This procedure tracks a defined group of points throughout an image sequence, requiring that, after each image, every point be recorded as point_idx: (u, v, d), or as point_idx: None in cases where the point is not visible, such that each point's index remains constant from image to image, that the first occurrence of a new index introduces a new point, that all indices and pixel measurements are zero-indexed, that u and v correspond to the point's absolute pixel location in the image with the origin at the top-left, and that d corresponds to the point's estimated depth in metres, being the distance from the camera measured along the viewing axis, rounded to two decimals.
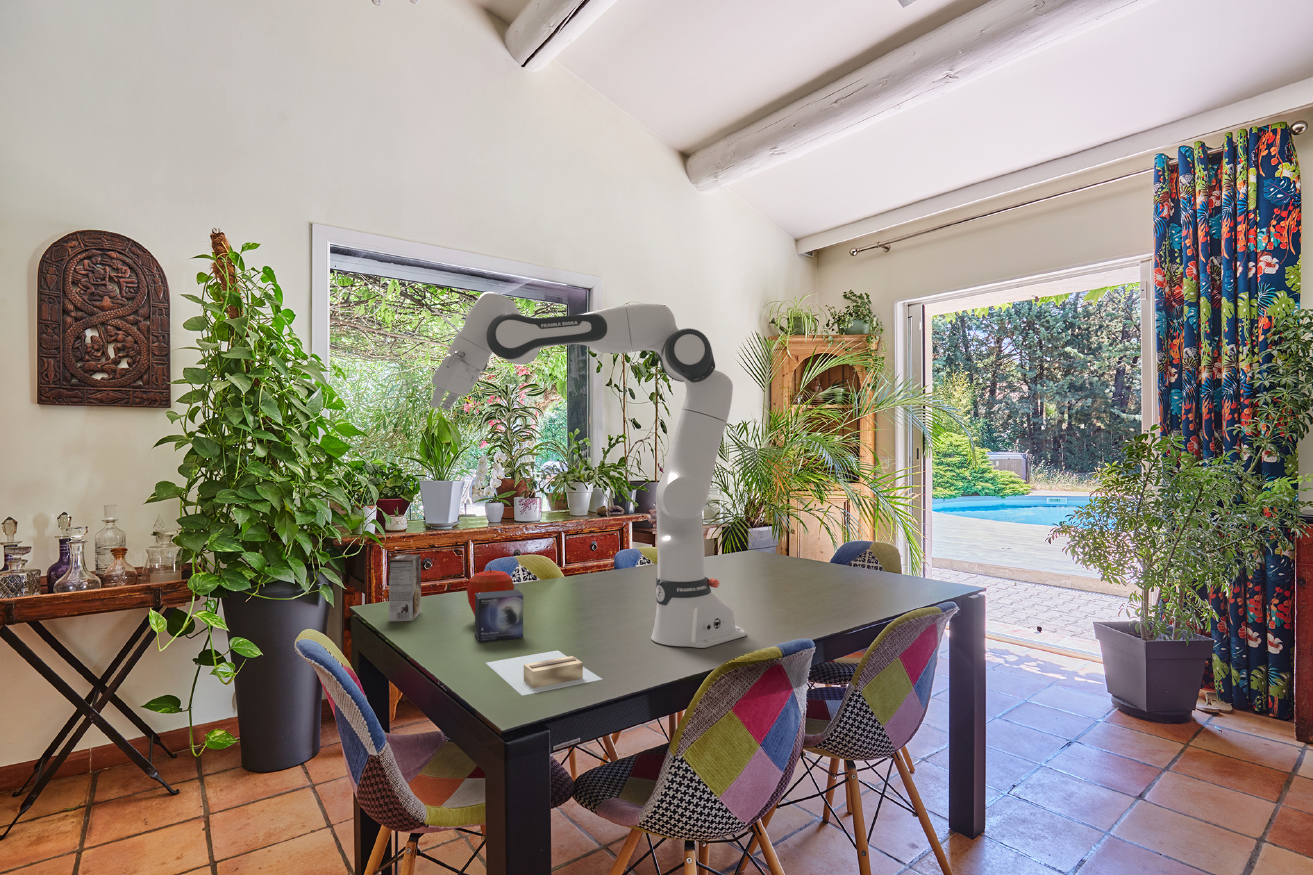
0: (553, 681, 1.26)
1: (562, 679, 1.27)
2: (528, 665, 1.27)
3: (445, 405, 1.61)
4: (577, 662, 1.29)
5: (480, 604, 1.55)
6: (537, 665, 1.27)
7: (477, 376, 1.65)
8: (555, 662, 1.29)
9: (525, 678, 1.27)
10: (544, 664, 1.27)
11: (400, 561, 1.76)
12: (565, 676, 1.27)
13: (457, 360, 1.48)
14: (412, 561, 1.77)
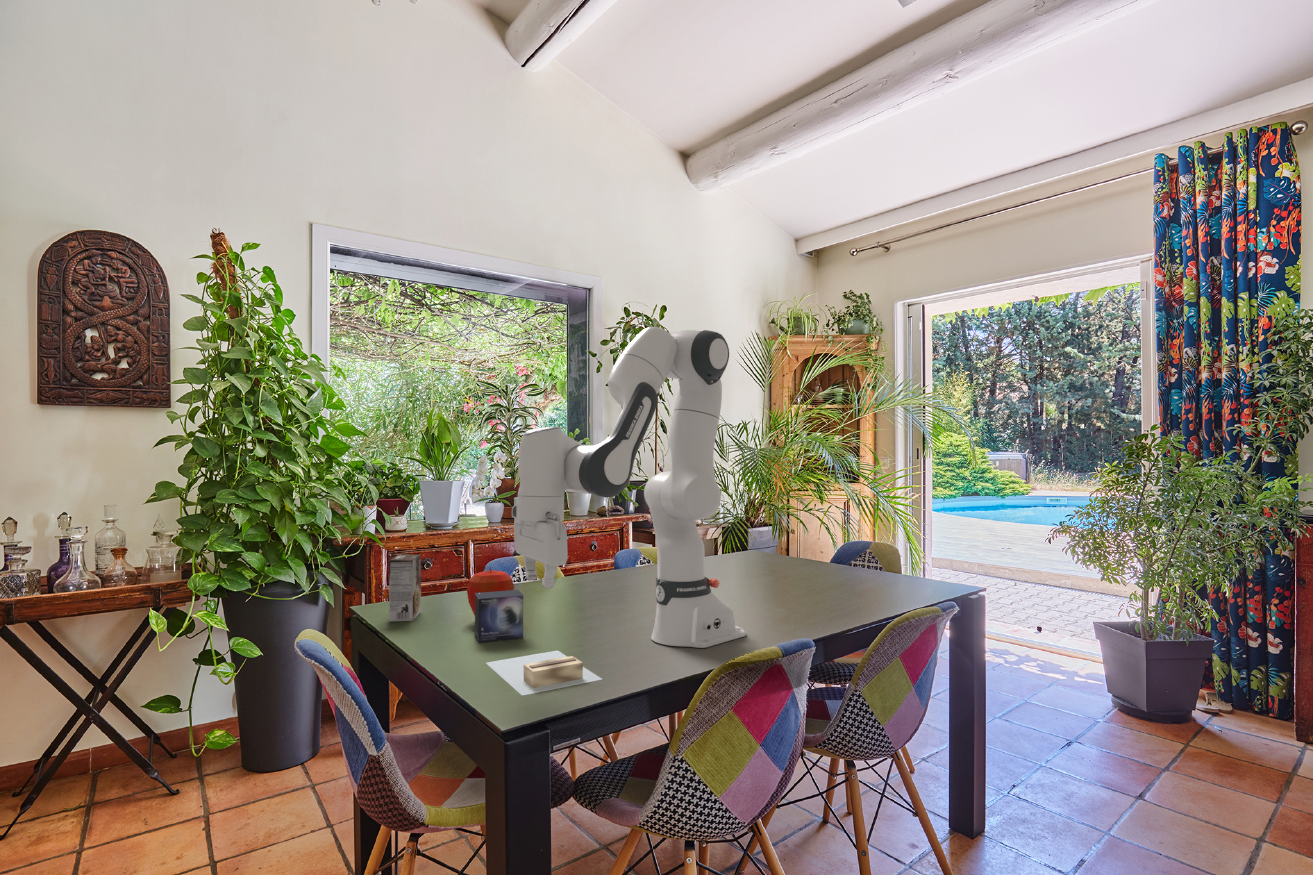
0: (553, 681, 1.26)
1: (562, 679, 1.27)
2: (528, 665, 1.27)
3: (531, 575, 1.32)
4: (577, 662, 1.29)
5: (480, 604, 1.55)
6: (537, 665, 1.27)
7: None
8: (555, 662, 1.29)
9: (525, 678, 1.27)
10: (544, 664, 1.27)
11: (400, 561, 1.76)
12: (565, 676, 1.27)
13: None
14: (412, 561, 1.77)
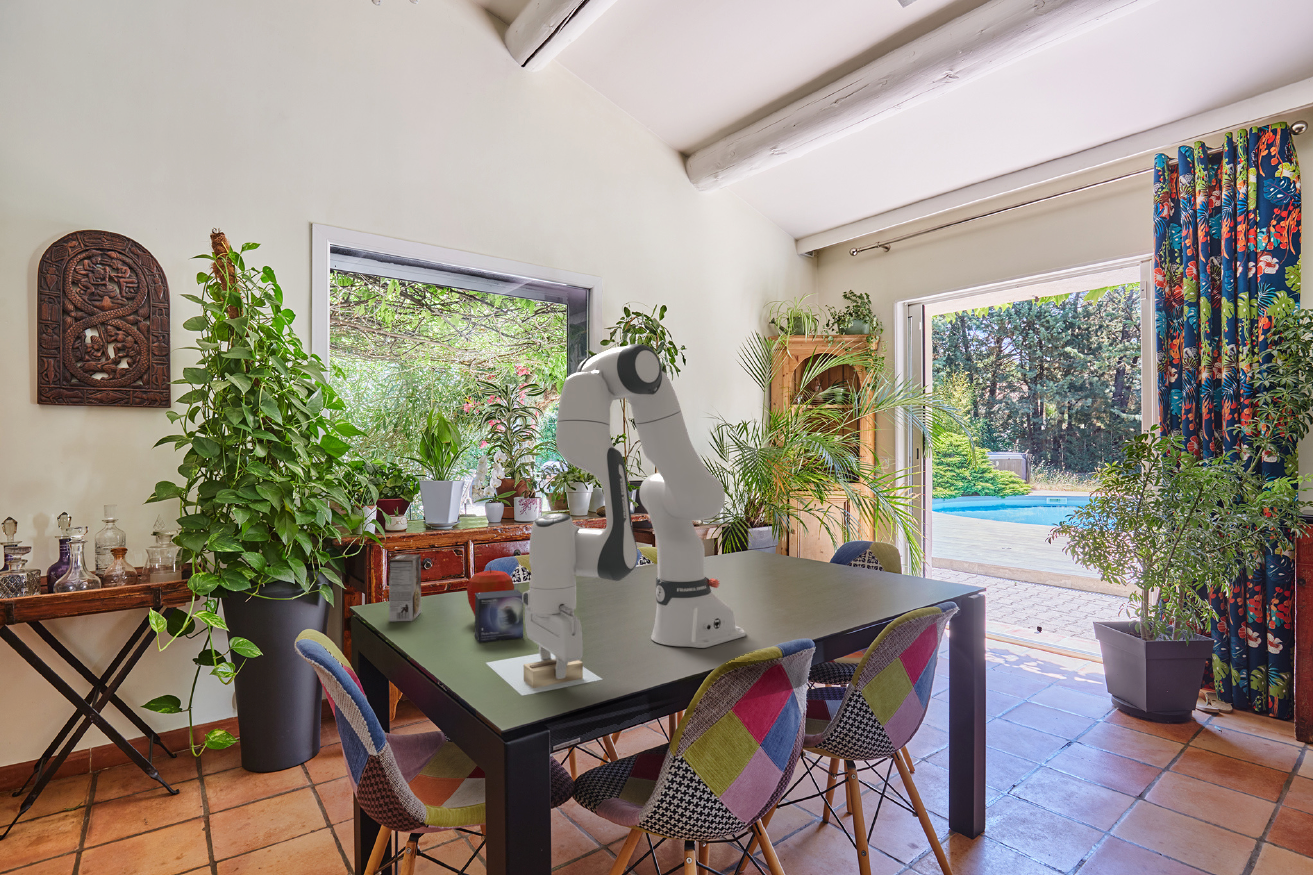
0: (553, 681, 1.26)
1: (562, 679, 1.27)
2: (528, 665, 1.28)
3: None
4: (577, 662, 1.29)
5: (480, 604, 1.55)
6: (537, 665, 1.27)
7: None
8: (555, 662, 1.29)
9: (525, 678, 1.27)
10: (544, 664, 1.27)
11: (400, 561, 1.76)
12: (565, 676, 1.27)
13: None
14: (412, 561, 1.77)
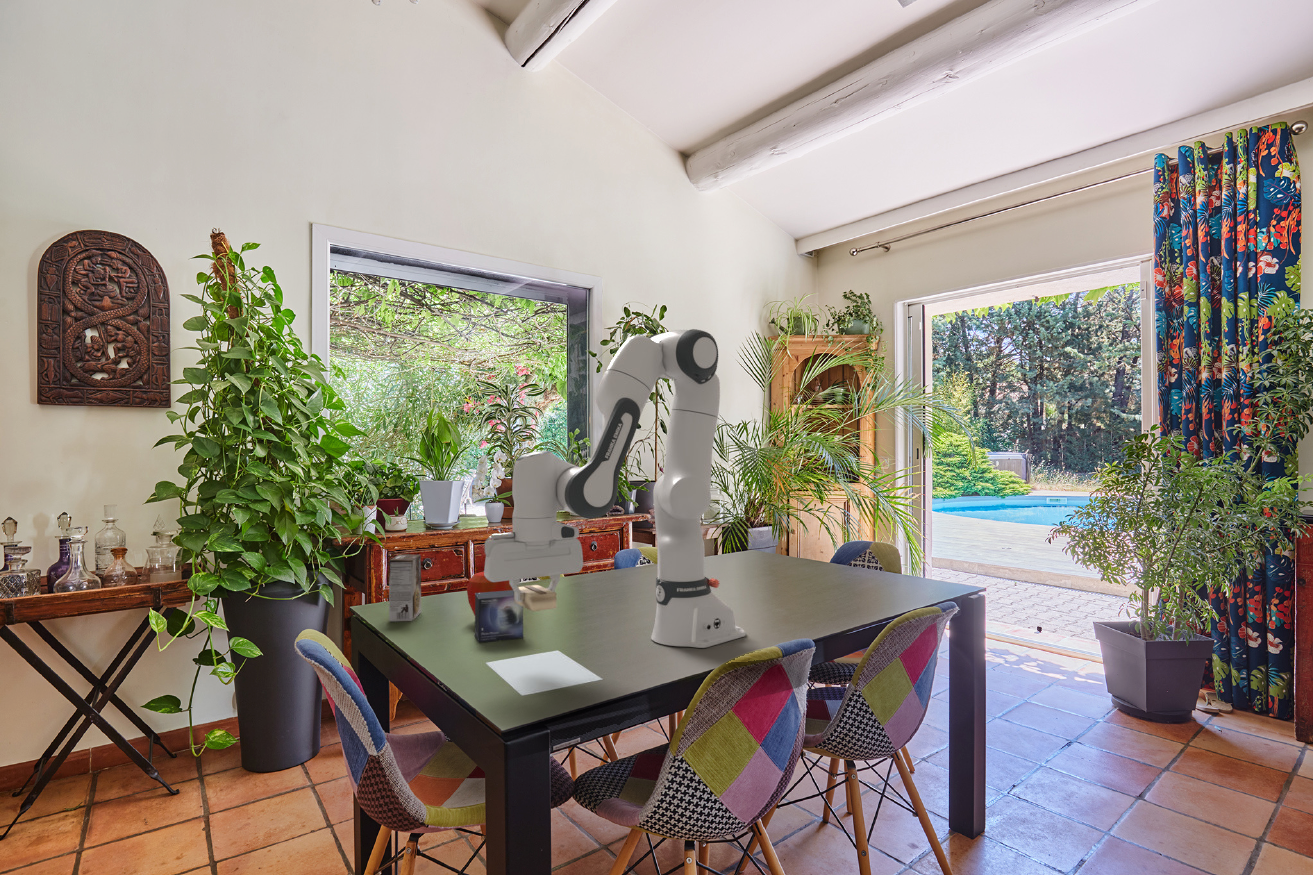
0: (521, 603, 1.37)
1: (524, 604, 1.35)
2: (533, 585, 1.42)
3: None
4: (533, 595, 1.33)
5: (480, 604, 1.55)
6: (528, 586, 1.40)
7: (574, 545, 1.39)
8: (535, 589, 1.37)
9: None
10: (530, 587, 1.39)
11: (400, 561, 1.76)
12: (525, 602, 1.35)
13: (494, 545, 1.32)
14: (412, 561, 1.77)
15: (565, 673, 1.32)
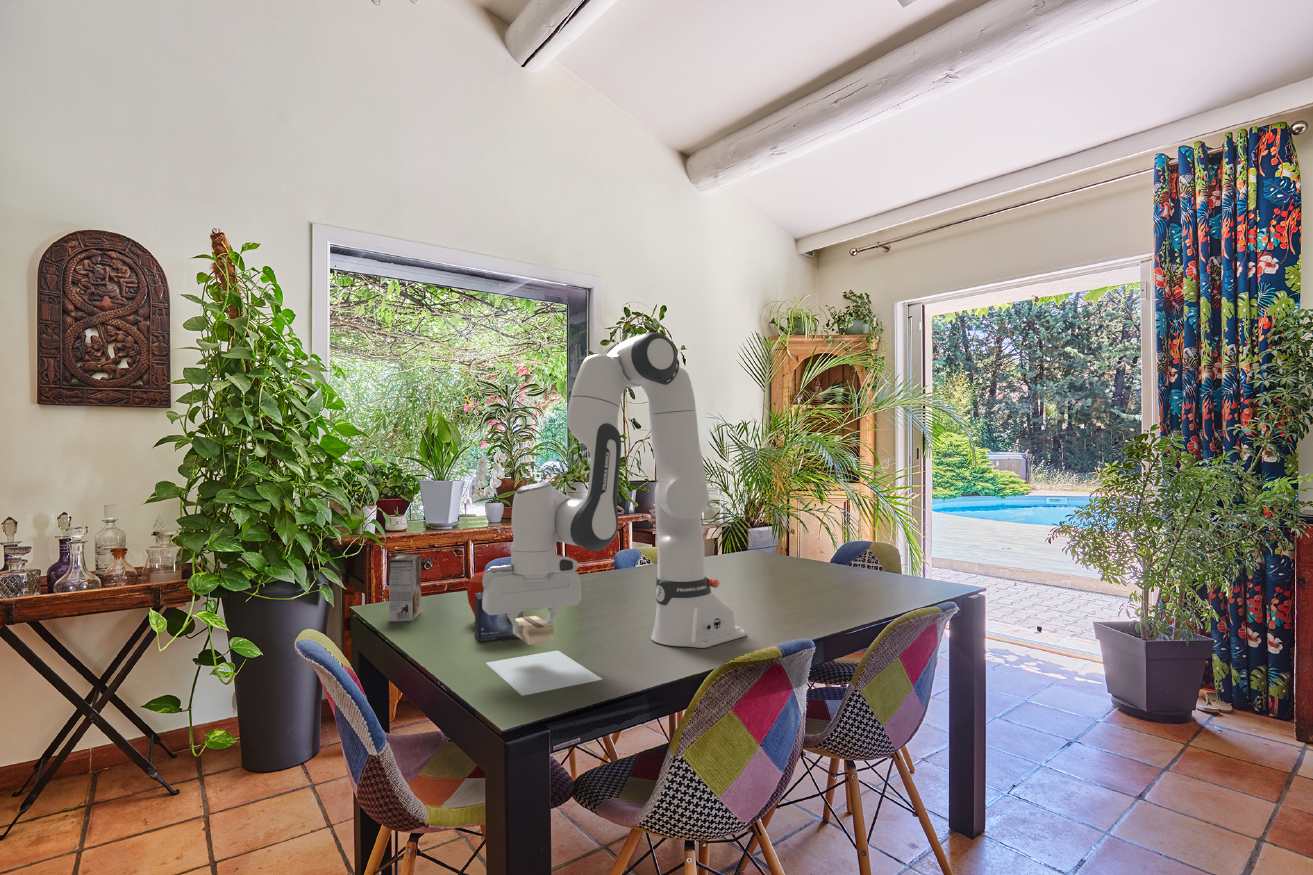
0: (519, 635, 1.37)
1: (522, 637, 1.35)
2: (531, 616, 1.42)
3: None
4: (531, 628, 1.33)
5: (480, 604, 1.55)
6: (527, 618, 1.40)
7: (573, 577, 1.39)
8: (532, 622, 1.37)
9: None
10: (528, 619, 1.39)
11: (400, 561, 1.76)
12: (523, 635, 1.35)
13: (492, 578, 1.32)
14: (412, 561, 1.77)
15: (565, 673, 1.32)
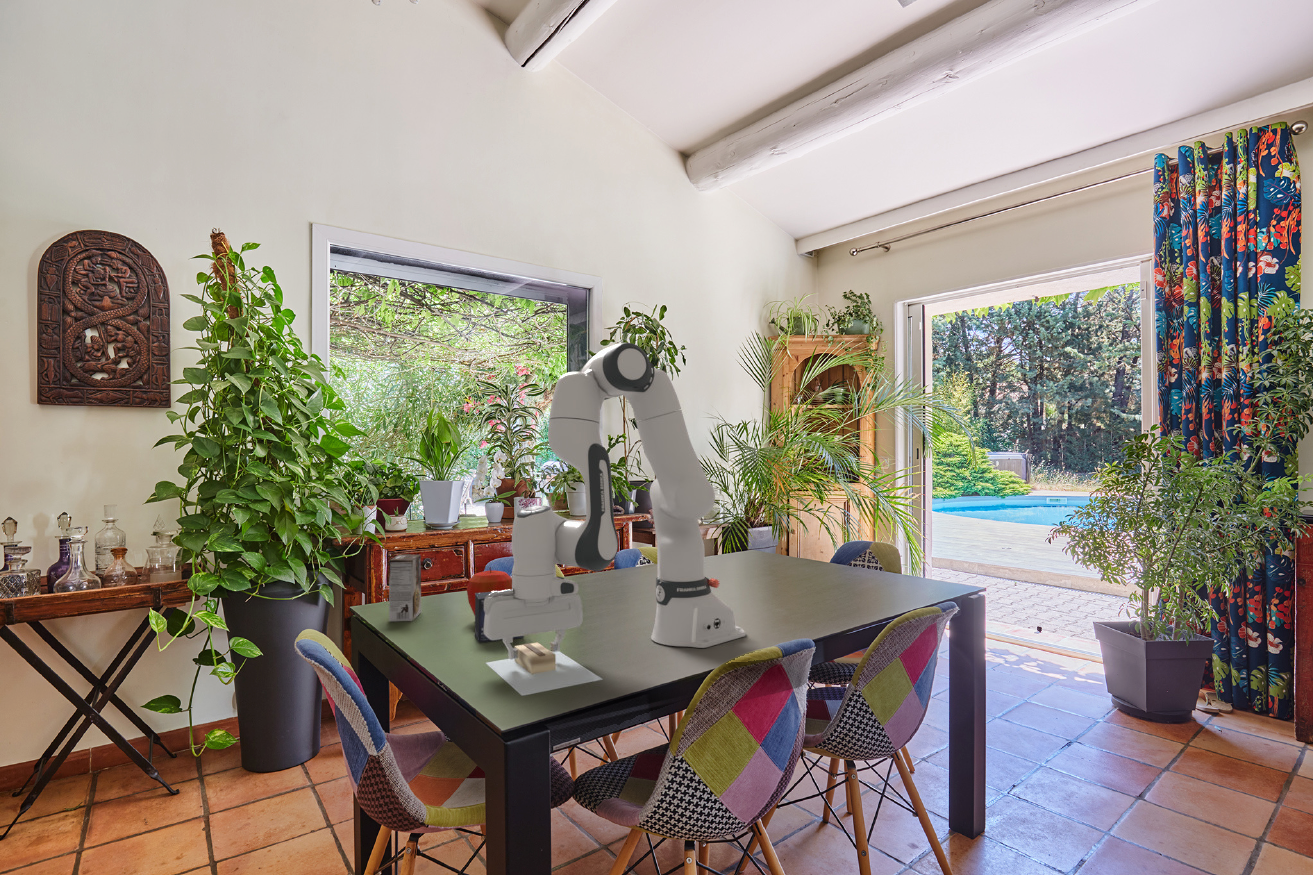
0: (521, 663, 1.37)
1: (524, 665, 1.35)
2: (533, 643, 1.42)
3: (552, 647, 1.39)
4: (533, 657, 1.33)
5: (480, 604, 1.55)
6: (528, 645, 1.40)
7: (574, 600, 1.39)
8: (534, 650, 1.37)
9: None
10: (530, 647, 1.39)
11: (400, 561, 1.76)
12: (525, 663, 1.35)
13: (493, 603, 1.32)
14: (412, 561, 1.77)
15: (565, 673, 1.32)
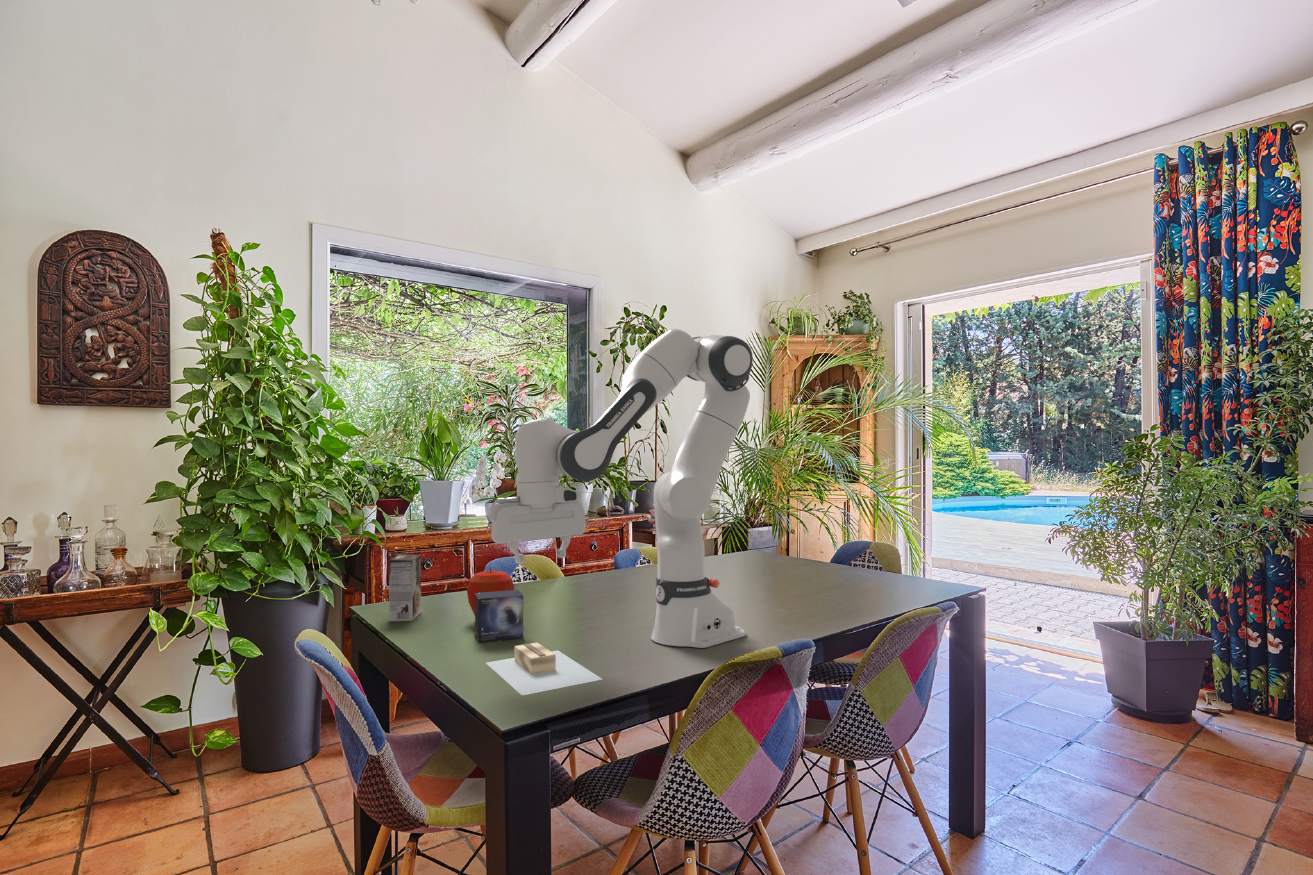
0: (521, 663, 1.37)
1: (524, 665, 1.35)
2: (533, 643, 1.42)
3: (558, 553, 1.45)
4: (533, 657, 1.33)
5: (480, 604, 1.55)
6: (528, 645, 1.40)
7: (576, 508, 1.45)
8: (534, 650, 1.37)
9: None
10: (530, 647, 1.39)
11: (400, 561, 1.76)
12: (525, 663, 1.35)
13: (500, 508, 1.38)
14: (412, 561, 1.77)
15: (565, 673, 1.32)
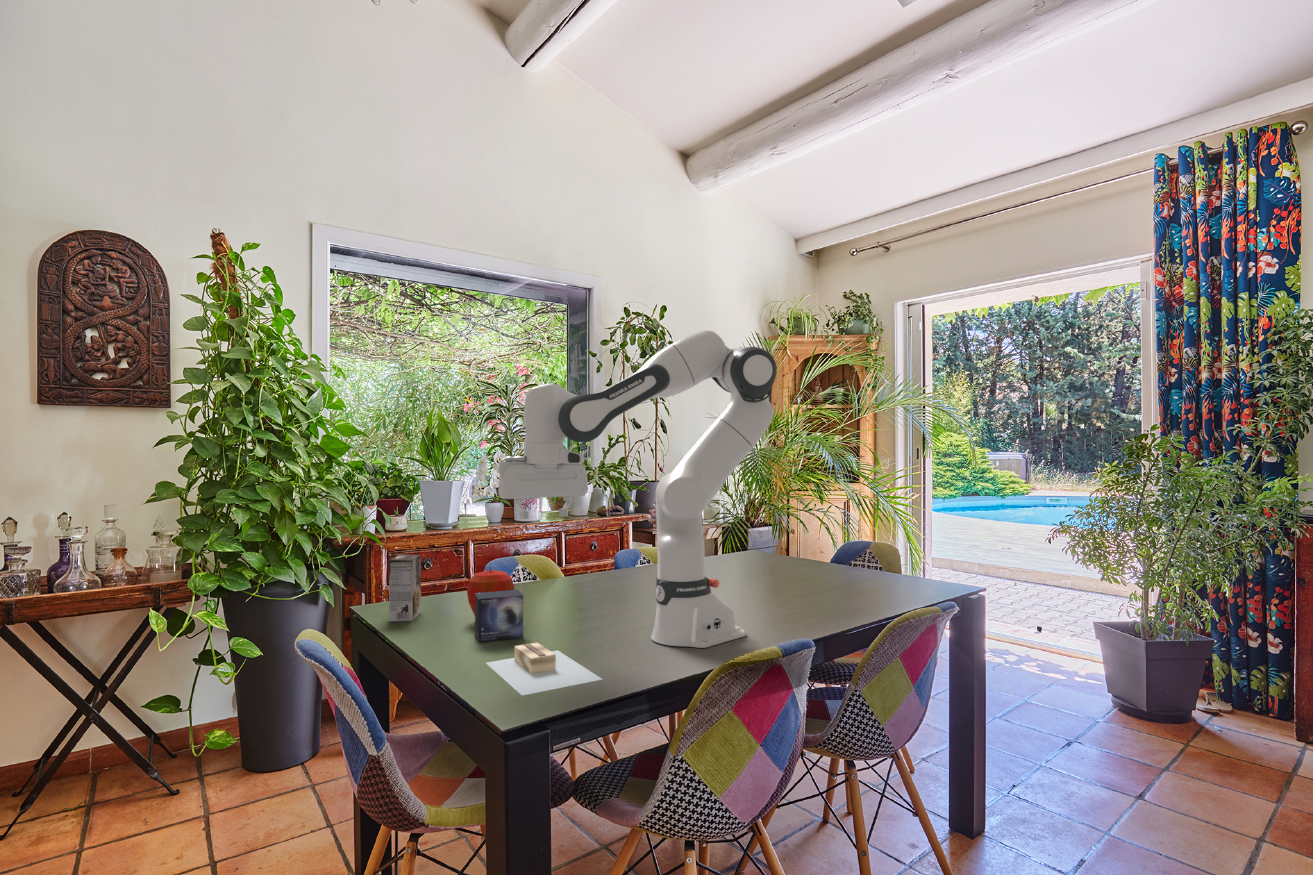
0: (521, 663, 1.37)
1: (524, 665, 1.35)
2: (533, 643, 1.42)
3: (560, 512, 1.54)
4: (533, 657, 1.33)
5: (480, 604, 1.55)
6: (528, 645, 1.40)
7: (580, 470, 1.54)
8: (534, 650, 1.37)
9: None
10: (530, 647, 1.39)
11: (400, 561, 1.76)
12: (525, 663, 1.35)
13: (507, 466, 1.47)
14: (412, 561, 1.77)
15: (565, 673, 1.32)
